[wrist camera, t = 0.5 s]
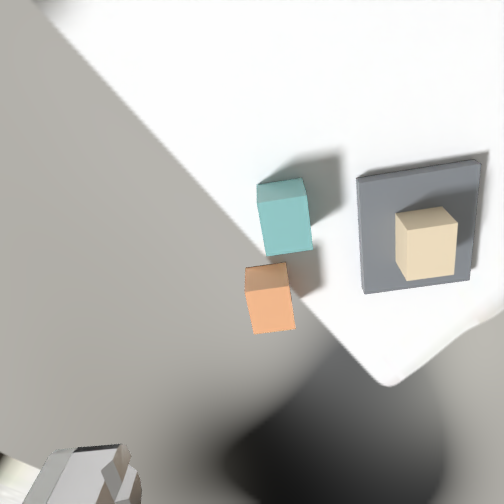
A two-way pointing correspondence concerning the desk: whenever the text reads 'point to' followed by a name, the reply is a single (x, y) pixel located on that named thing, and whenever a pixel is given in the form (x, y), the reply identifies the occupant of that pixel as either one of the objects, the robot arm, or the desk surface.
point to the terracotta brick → (269, 298)
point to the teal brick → (284, 217)
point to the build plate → (413, 197)
